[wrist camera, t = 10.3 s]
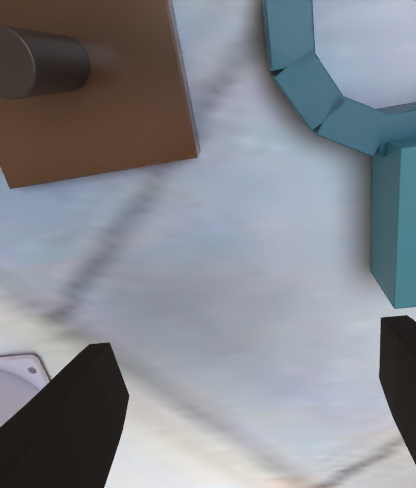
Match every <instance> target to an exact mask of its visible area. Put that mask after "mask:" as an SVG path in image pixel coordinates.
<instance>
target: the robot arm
mask: <svg viewBox="0 0 416 488" xmlns="http://www.w3.org/2000/svg"><path fill="white" fill-rule="evenodd" d="M379 379H380V382H381V385H382V388H383V391H384V394H385V397H386V400H387V402H388V405H389V408H390V411H391V413H392V416H393V419H394V421H395V423H396V425H397V427H398V429H399V431H400V433H401V435H402V437H403V439H404V442H405V444H406V446H407V448H408V450H409V452H410V454H411V456H412V458H413V460H414V462H415V464H416V322H415V321H414V320H413V319H411V318H410V317H409V316H407V315H405V316H394V317H383V318H381V335H380V369H379ZM128 400H129V394H128V391H127V388H126V385H125V383H124V380H123V377H122V374H121V372H120V369H119V366H118V364H117V361H116V358H115V355H114V353H113V350H112V347H111V344H110V343H99V344H89V345H88V346H87V347H86V348H85V349H84V350H82V351H81V352H80V353H79V354H78V355H77V356H76V357H75V358H74V359H73V360H72V361H71V362H70V363H69V364H68V365H66V366H65V367H64V368H63V369H62V370H61V371H60V372H59V373H58V374H57V375H56V376H55V377H54V378H53V379H52V380H51V381H49V379H48V377H47V375H46V373H45V371H44V369H43V367H42V365H41V363H40V361H39V359H38V358H37V357H36V356H35V355H30V354H28V355H17V356H7V357H0V488H104V487H105V484H106V480H107V477H108V474H109V471H110V468H111V465H112V462H113V459H114V456H115V453H116V450H117V447H118V444H119V441H120V437H121V434H122V430H123V425H124V421H125V416H126V411H127V405H128Z"/></svg>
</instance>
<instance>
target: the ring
mask: <svg viewBox="0 0 416 488" xmlns="http://www.w3.org/2000/svg"><path fill="white" fill-rule="evenodd" d="M261 5H262V14H263V24H264V34H265V44H266V54H267V63H268V70H269V71H276V72H275V73H274V74H273V75H272V76H271V78H272V80H273V81H274V83H275V84H276V85H277V87H278V88H279V90H280V91H281V92H282V94H283V95H284V97H285V98H286V99H287V101H288V102H289V104H290V105H291V106H292V108H293V109H294V111H295V112H296V113H297V115H298V116H299V118H300V119H301V120H302V122H303V123H304V124H305V125H306V126H307V127H308V128H309V129H310V130H312V131H313V132H314V133H316V134H317V135H318V136H321V137H324V138H326V139H329V140H331V141H334V142H336V143H339V144H342V145H344V146H347V147H349V148H352V149H354V150H357V151H359V152H362V153H365V154H367V155H370V156H372V188H371V273H372V274H373V276H374V278H375V279H376V281H377V282H378V284H379V285H380V287H381V289H382V290H383V292H384V293H385V295H386V296H387V298H388V300H389V301H390V303H391V304H392V306H393V307H394V309H398V308H408V307H416V102H414V103H409V104H403V105H397V106H392V107H386V108H380V109H374V108H371V107H369V106H366V105H364V104H361V103H359V102H356V101H354V100H351V99H349V98H346V97H344V96H343V95H342V94H341V92H340V91H339V89H338V87H337V86H336V84H335V83H334V81H333V80H332V78H331V77H330V75H329V74H328V72H327V71H326V69H325V68H324V66H323V65H322V63H321V62H320V60H319V59H318V57H317V55H316V54H315V42H314V23H313V4H312V0H262V2H261Z"/></svg>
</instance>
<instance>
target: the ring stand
mask: <svg viewBox="0 0 416 488" xmlns="http://www.w3.org/2000/svg"><path fill="white" fill-rule="evenodd" d="M199 153H200V146H199V141H198V136H197V131H196V125H195V120H194V115H193V110H192V104H191V99H190V94H189V88H188V83H187V78H186V73H185V67H184V62H183V57H182V52H181V46H180V41H179V36H178V30H177V25H176V20H175V15H174V9H173V4H172V0H0V167H1V169H2V172H3V174H4V176H5V179H6V181H7V183H8V186H9V188H10V189H13V188H19V187H25V186H31V185H37V184H43V183H49V182H55V181H61V180H67V179H73V178H79V177H85V176H91V175H97V174H103V173H108V172H114V171H120V170H126V169H132V168H138V167H144V166H150V165H156V164H162V163H168V162H174V161H180V160H186V159H192V158H197V157H198V155H199Z"/></svg>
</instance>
